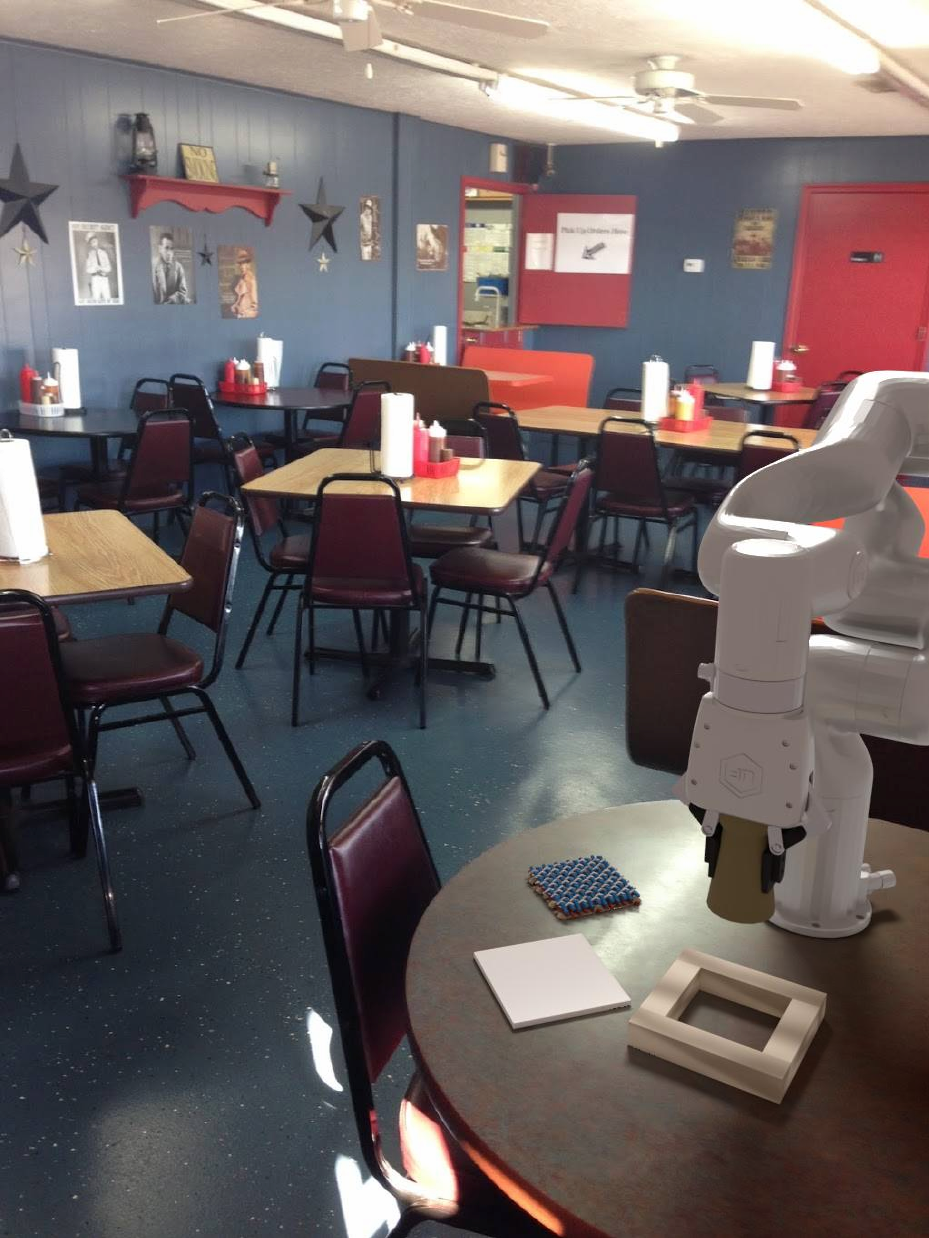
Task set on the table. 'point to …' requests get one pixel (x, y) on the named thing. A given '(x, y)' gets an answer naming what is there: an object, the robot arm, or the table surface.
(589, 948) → the ceramic tile
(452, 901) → the table surface
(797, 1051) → the wooden holder
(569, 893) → the woven mat
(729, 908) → the cork
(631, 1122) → the table surface
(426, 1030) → the table surface
